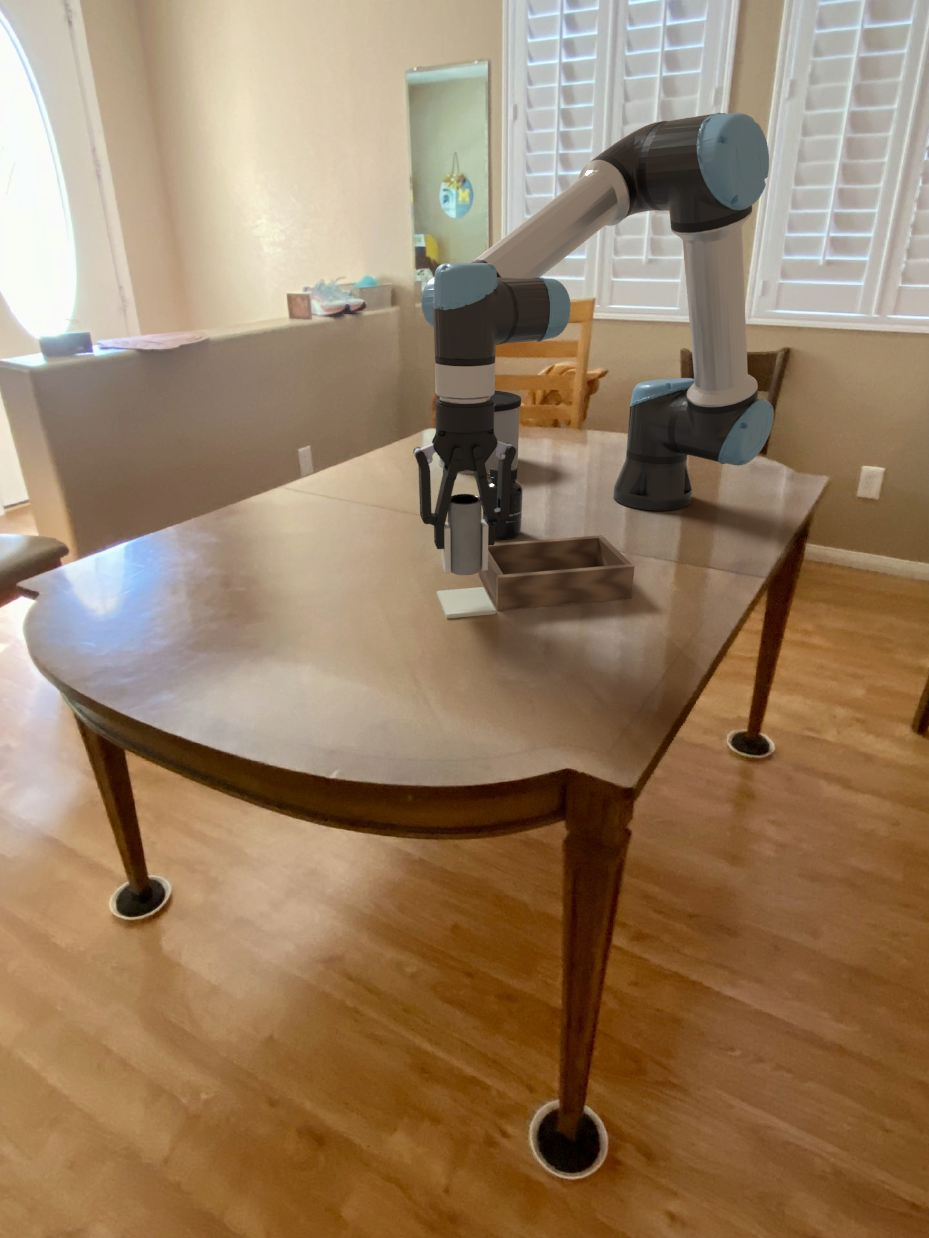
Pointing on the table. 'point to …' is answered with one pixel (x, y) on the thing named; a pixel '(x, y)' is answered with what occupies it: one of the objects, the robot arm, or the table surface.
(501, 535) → the supplement bottle
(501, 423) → the container
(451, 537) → the gray cylindrical cup
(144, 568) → the table surface
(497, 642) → the table surface
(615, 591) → the box frame
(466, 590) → the coaster
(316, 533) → the table surface
